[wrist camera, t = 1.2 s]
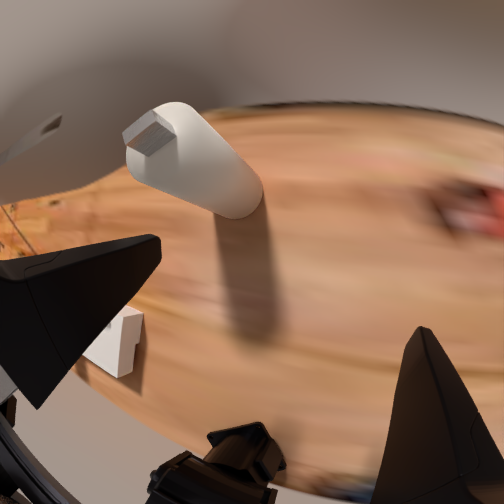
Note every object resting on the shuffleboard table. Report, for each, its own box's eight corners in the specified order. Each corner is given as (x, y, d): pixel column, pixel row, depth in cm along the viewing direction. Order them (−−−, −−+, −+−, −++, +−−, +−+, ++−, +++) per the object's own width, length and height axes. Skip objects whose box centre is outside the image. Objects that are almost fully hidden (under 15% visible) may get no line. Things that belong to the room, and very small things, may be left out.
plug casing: (224, 229, 26) (113, 194, 12) (203, 184, 27) (97, 125, 13) (272, 201, 24) (195, 132, 11) (248, 156, 25) (165, 69, 12)
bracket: (70, 327, 32) (27, 333, 25) (74, 278, 32) (29, 278, 25) (137, 369, 28) (90, 389, 21) (145, 312, 28) (93, 322, 21)
